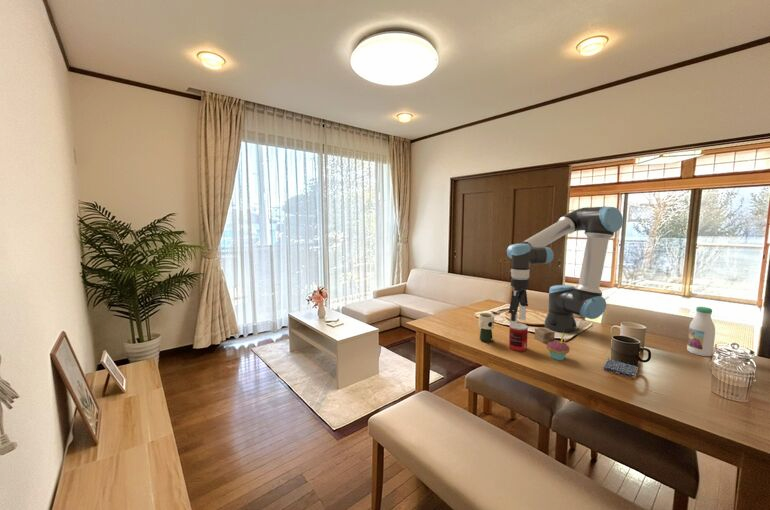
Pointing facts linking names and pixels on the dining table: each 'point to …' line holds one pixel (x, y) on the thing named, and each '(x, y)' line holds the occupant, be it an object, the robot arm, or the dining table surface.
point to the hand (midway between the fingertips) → (518, 323)
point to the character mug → (486, 326)
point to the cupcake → (558, 349)
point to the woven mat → (621, 368)
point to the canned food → (518, 337)
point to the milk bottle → (701, 333)
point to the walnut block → (544, 335)
